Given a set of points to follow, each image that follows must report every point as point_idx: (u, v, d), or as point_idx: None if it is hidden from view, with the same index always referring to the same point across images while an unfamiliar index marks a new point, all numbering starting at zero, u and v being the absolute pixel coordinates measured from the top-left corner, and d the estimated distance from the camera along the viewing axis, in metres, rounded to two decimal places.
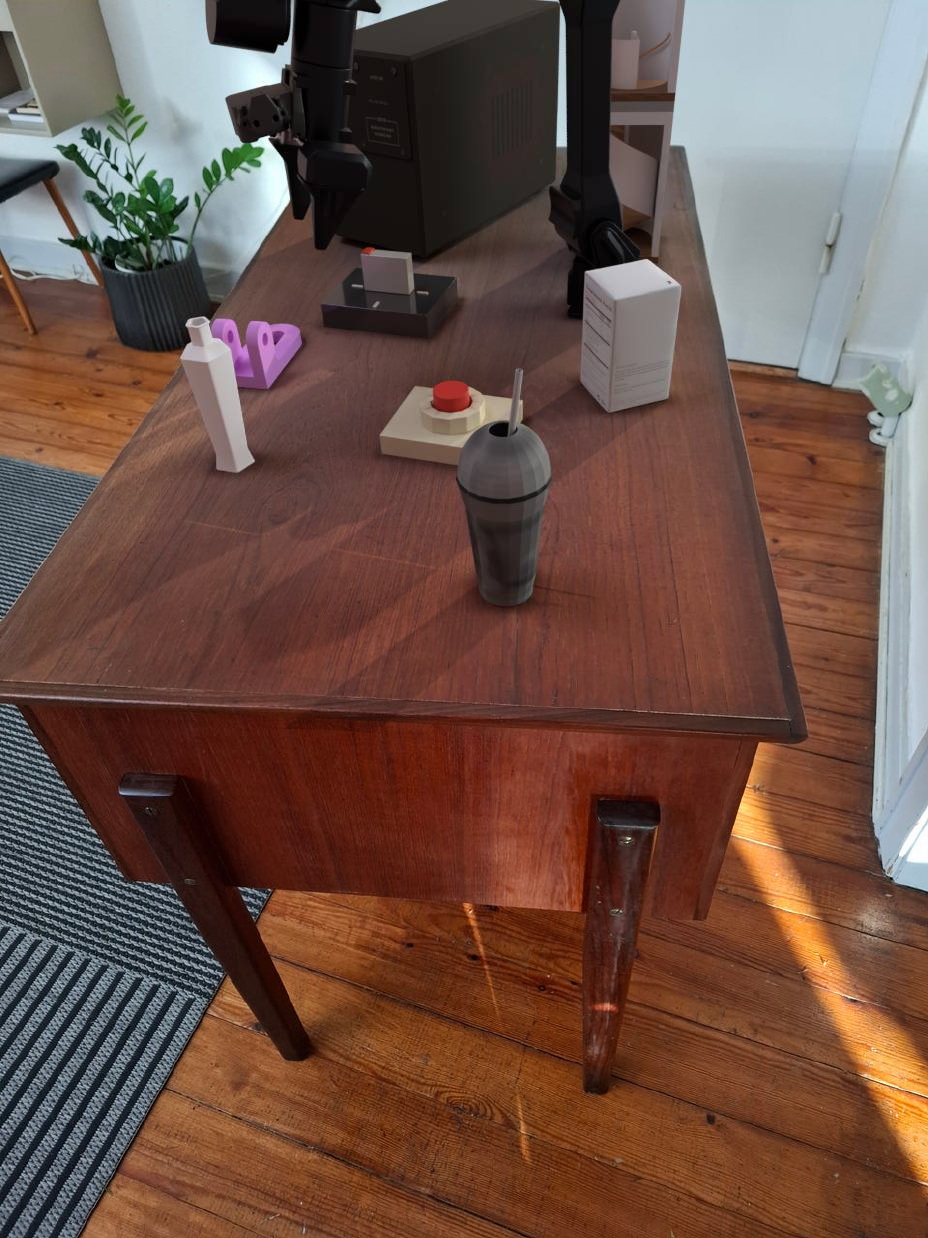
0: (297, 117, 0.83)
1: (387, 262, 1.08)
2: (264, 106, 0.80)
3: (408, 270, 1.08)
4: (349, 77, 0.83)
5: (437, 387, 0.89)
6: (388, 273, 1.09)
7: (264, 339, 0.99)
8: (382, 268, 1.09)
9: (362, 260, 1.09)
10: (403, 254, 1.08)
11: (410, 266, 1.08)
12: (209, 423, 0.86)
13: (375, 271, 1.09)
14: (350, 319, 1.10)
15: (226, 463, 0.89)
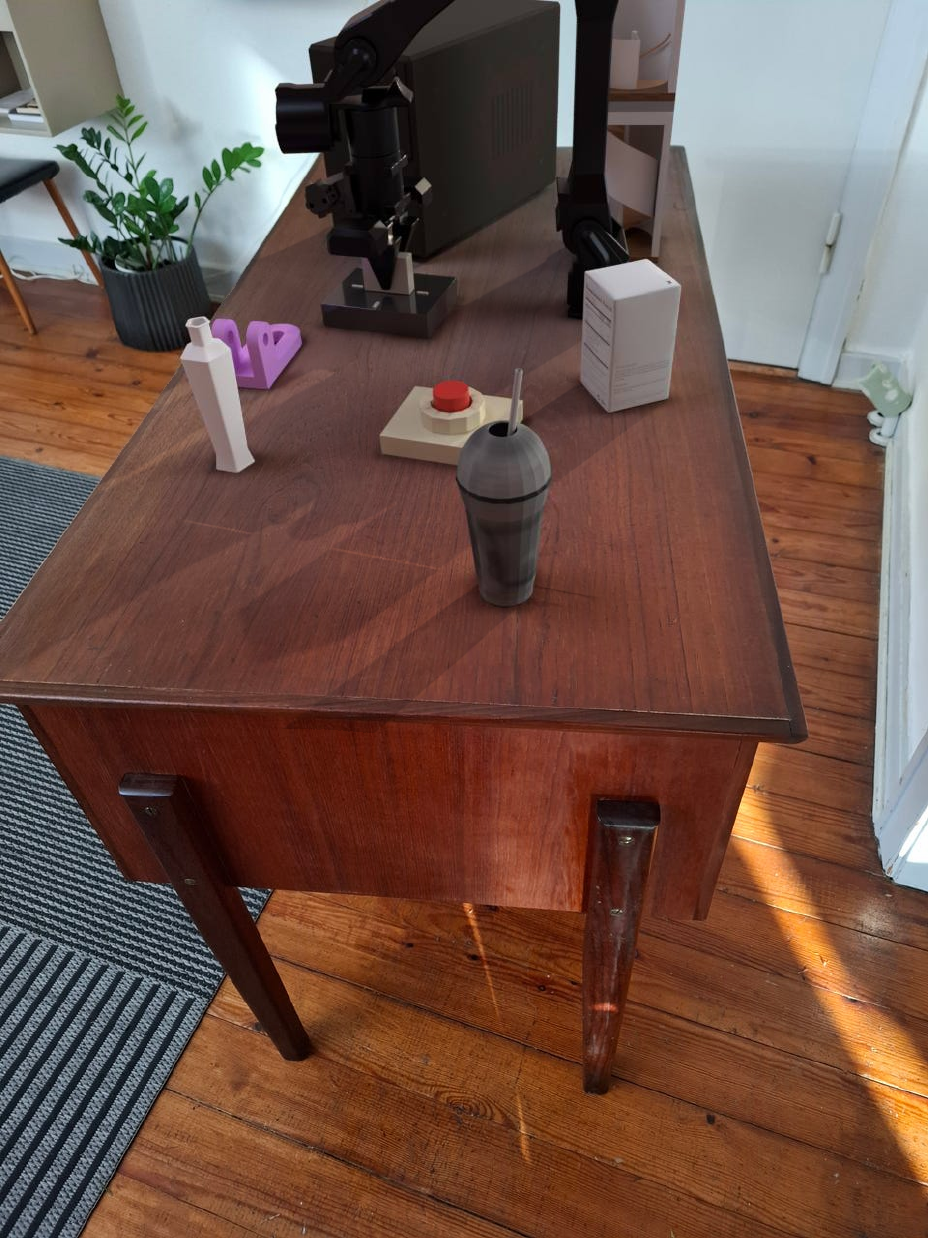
0: (347, 198, 1.02)
1: None
2: (314, 192, 1.01)
3: (408, 270, 1.08)
4: (388, 162, 0.99)
5: (437, 387, 0.89)
6: None
7: (264, 339, 0.99)
8: None
9: (362, 260, 1.09)
10: (403, 254, 1.08)
11: (410, 266, 1.08)
12: (209, 423, 0.86)
13: None
14: (350, 319, 1.10)
15: (226, 463, 0.89)
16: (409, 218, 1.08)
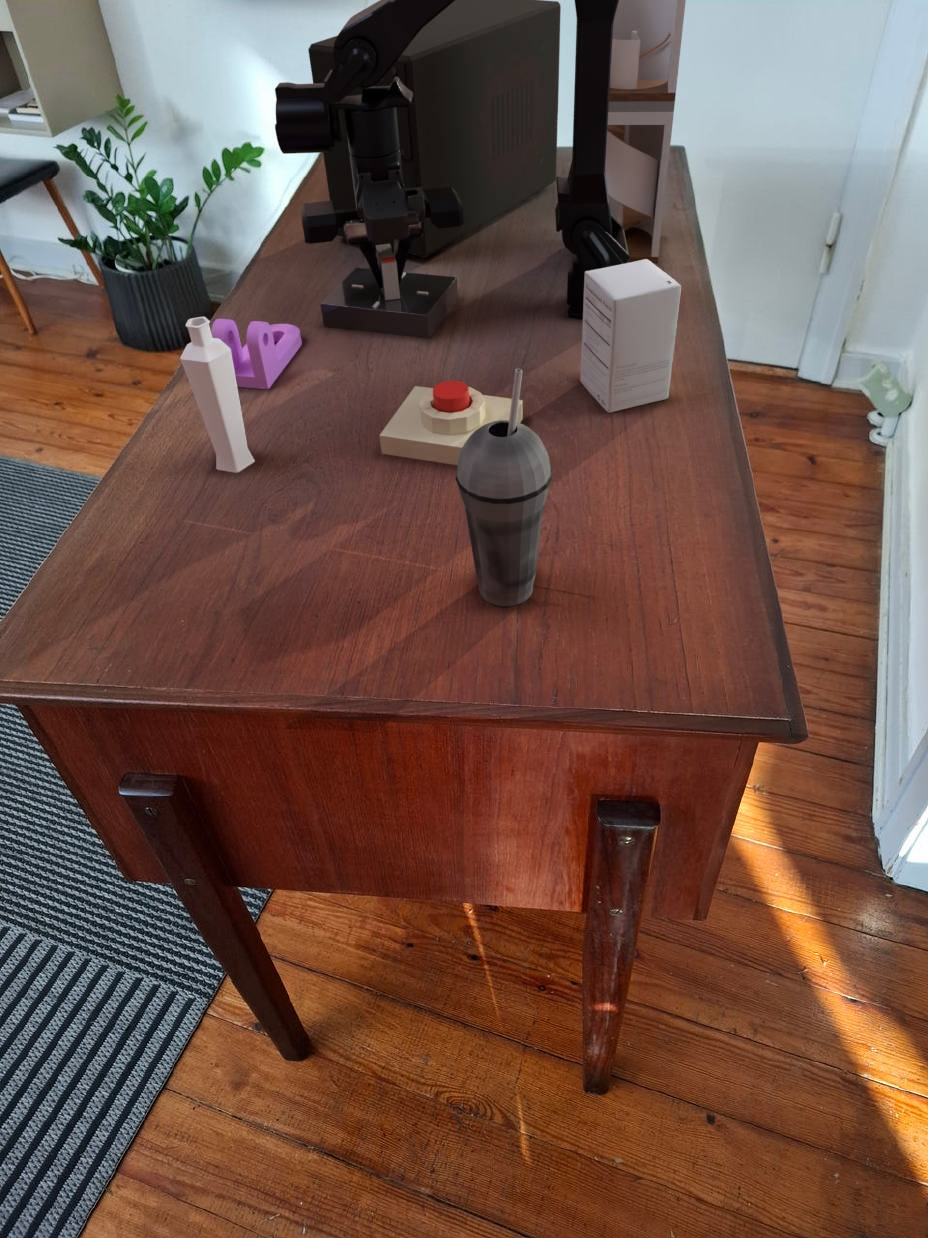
0: None
1: None
2: None
3: None
4: None
5: (437, 387, 0.89)
6: None
7: (265, 339, 0.99)
8: None
9: (396, 267, 1.07)
10: (382, 246, 1.10)
11: None
12: (209, 423, 0.86)
13: None
14: (350, 319, 1.10)
15: (226, 463, 0.89)
16: None
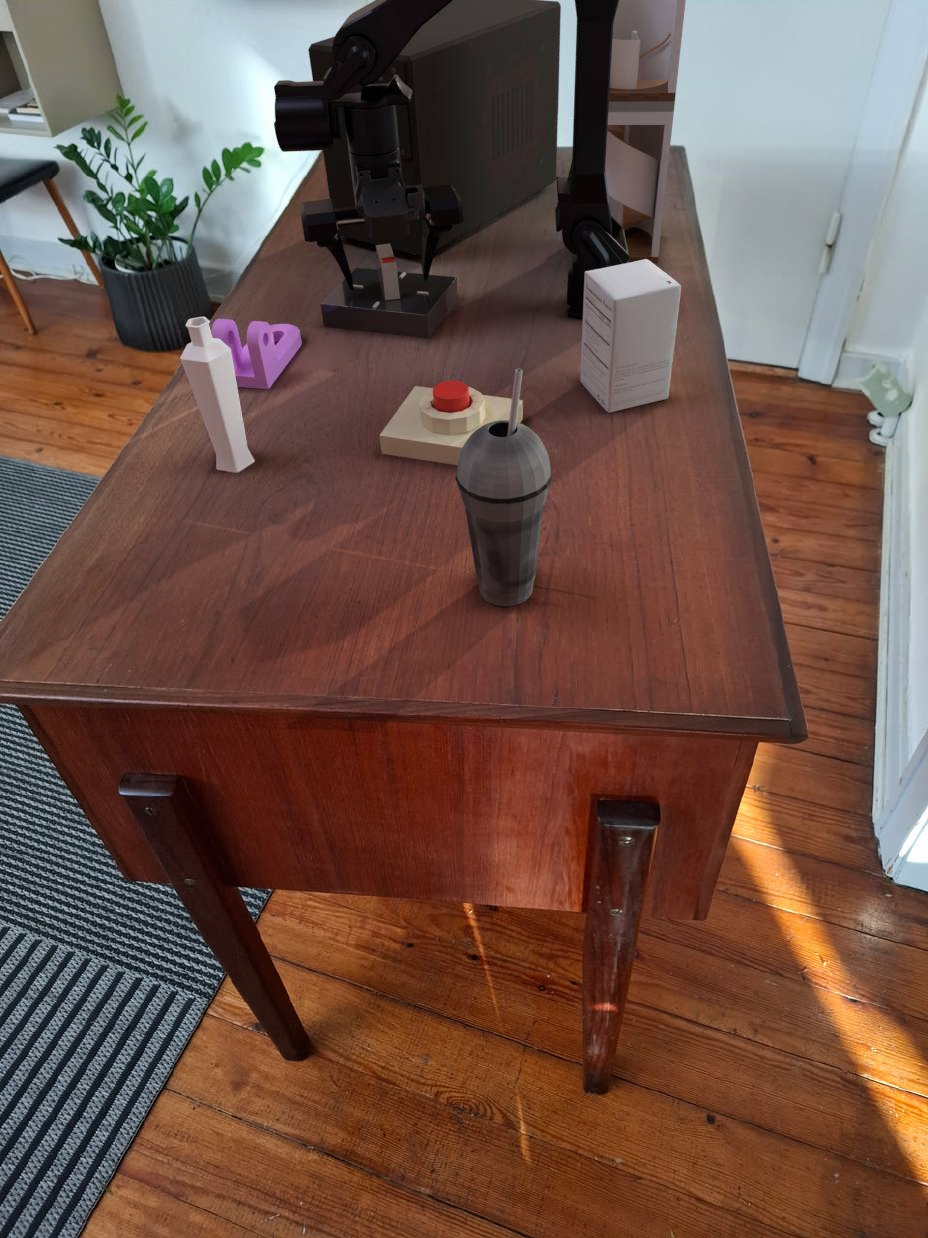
0: None
1: None
2: None
3: None
4: None
5: (437, 387, 0.89)
6: None
7: (265, 339, 0.99)
8: None
9: (396, 267, 1.07)
10: (382, 246, 1.10)
11: None
12: (209, 423, 0.86)
13: None
14: (350, 319, 1.10)
15: (226, 463, 0.89)
16: None
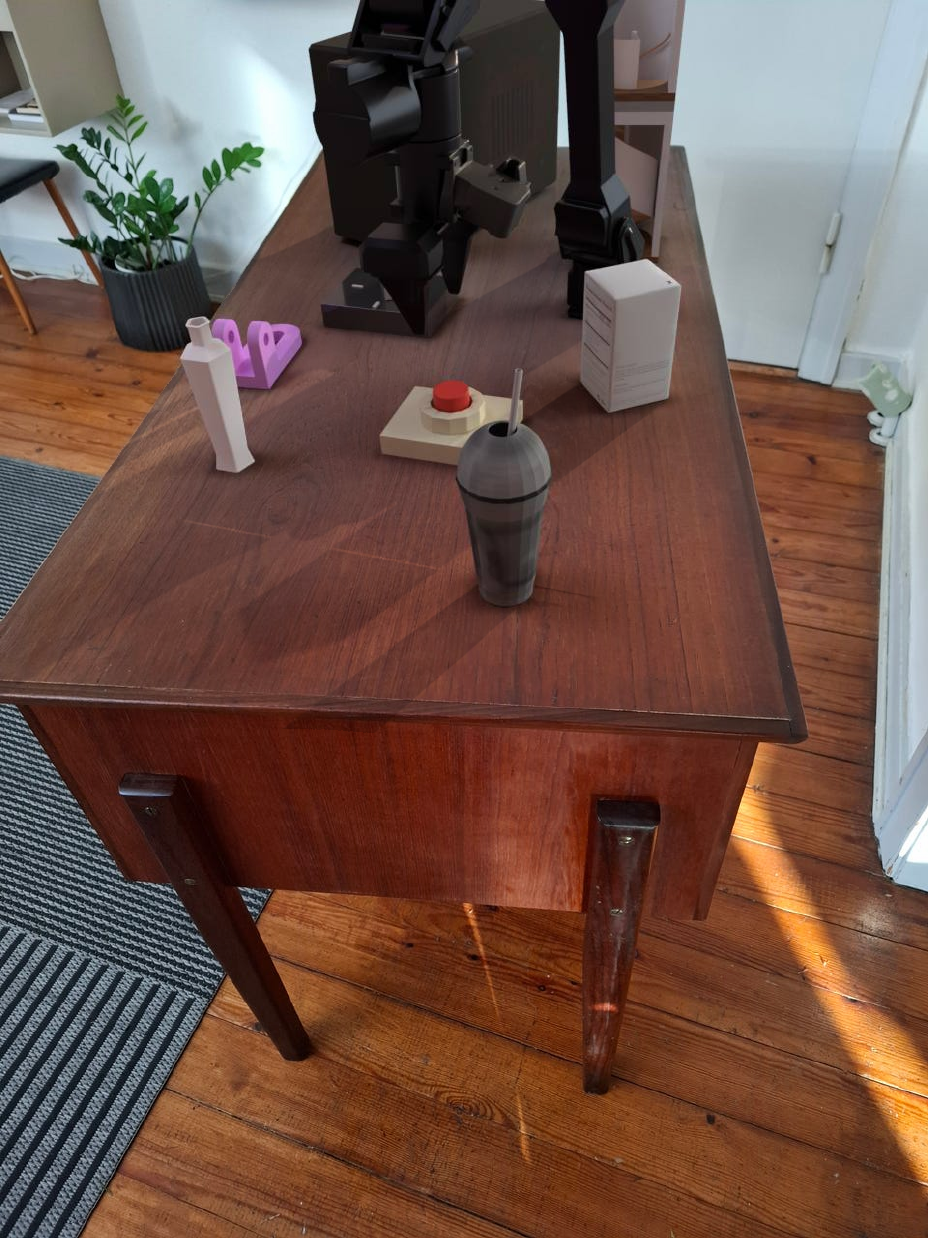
0: None
1: None
2: None
3: None
4: None
5: (437, 387, 0.89)
6: None
7: (265, 339, 0.99)
8: None
9: None
10: None
11: None
12: (209, 423, 0.86)
13: None
14: (350, 319, 1.10)
15: (226, 463, 0.89)
16: None
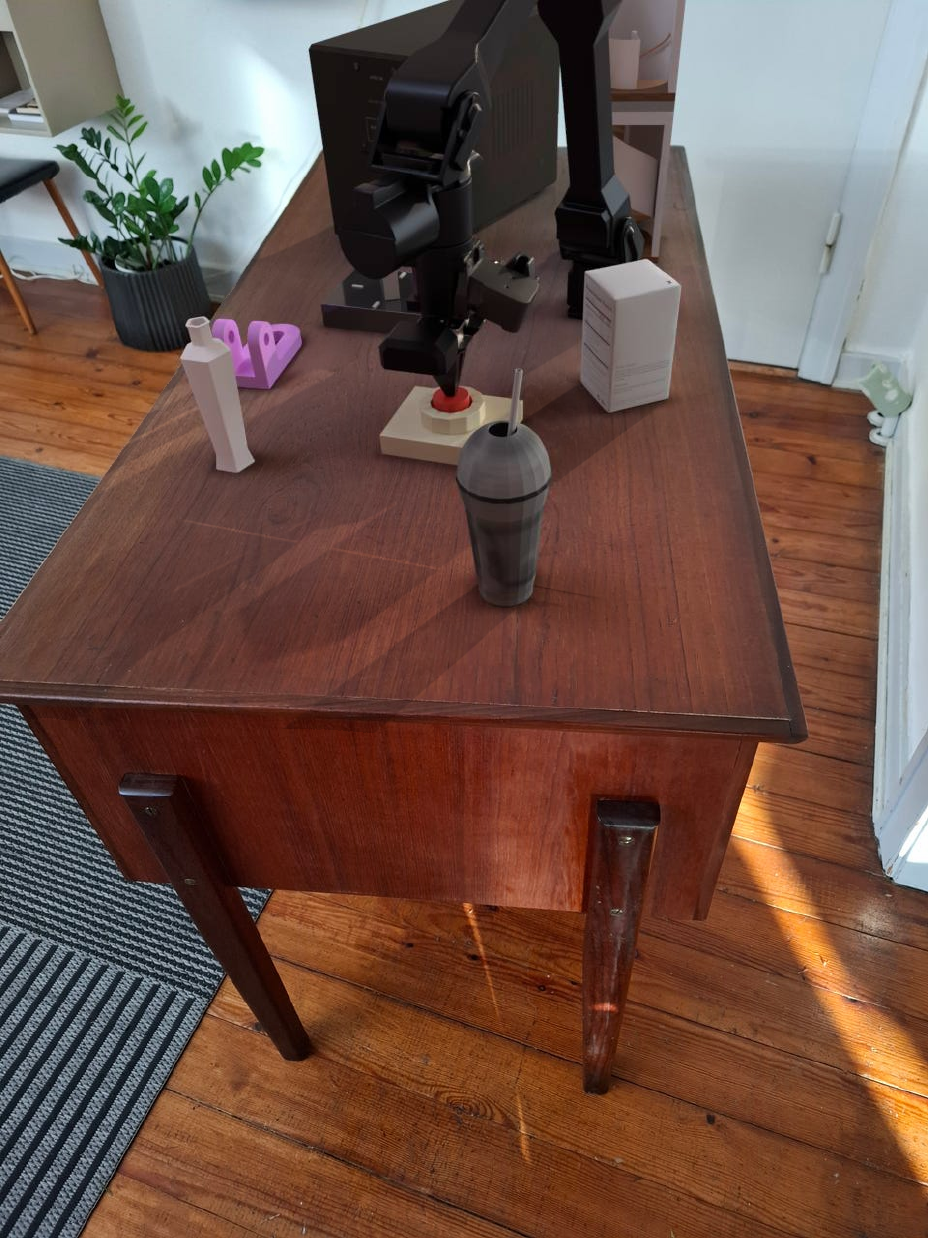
0: None
1: None
2: None
3: None
4: None
5: (438, 392, 0.89)
6: None
7: (265, 339, 0.99)
8: None
9: None
10: None
11: None
12: (209, 423, 0.86)
13: None
14: (350, 319, 1.10)
15: (226, 463, 0.89)
16: None
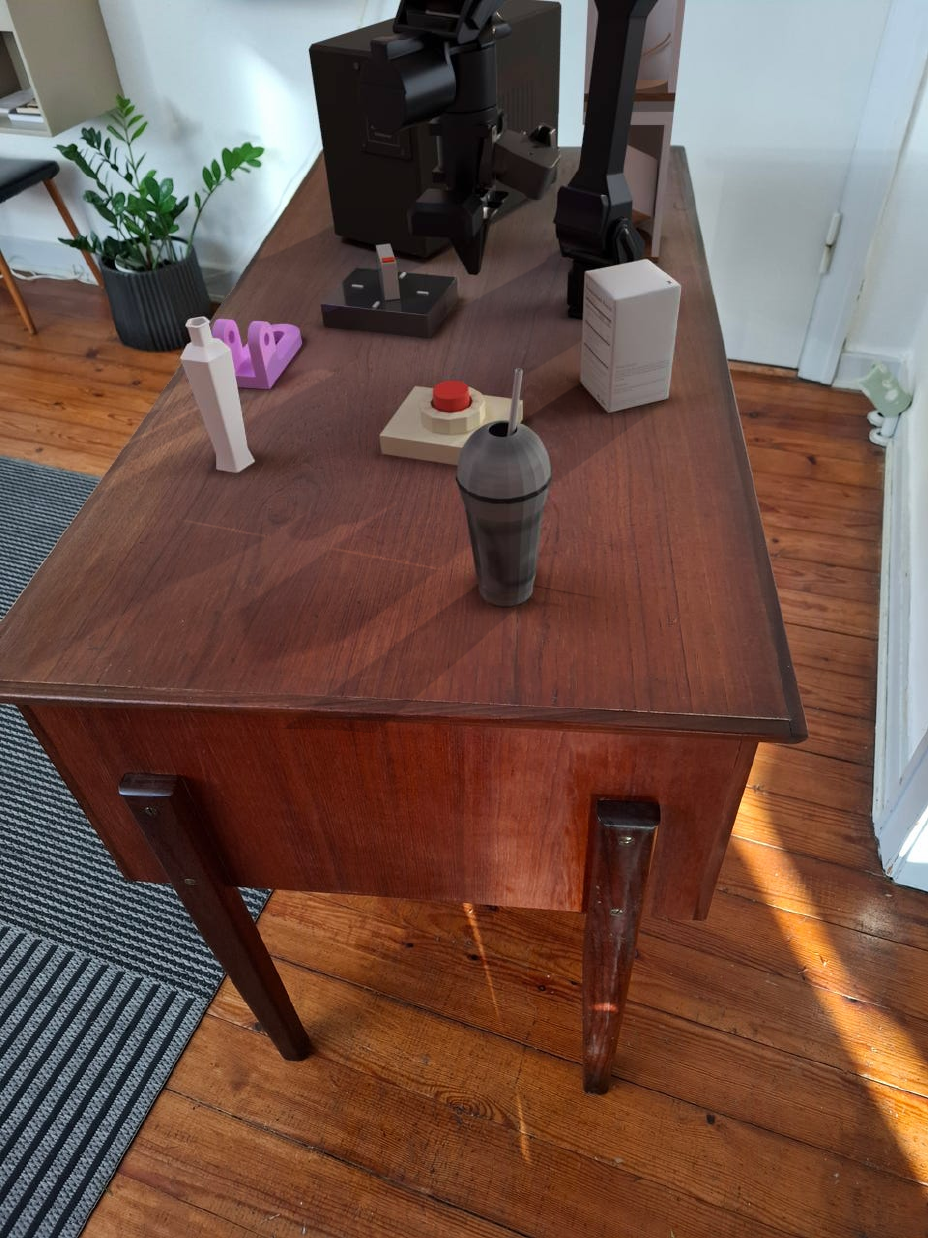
0: None
1: None
2: None
3: None
4: None
5: (437, 387, 0.89)
6: None
7: (265, 339, 0.99)
8: None
9: (396, 267, 1.07)
10: (382, 246, 1.10)
11: None
12: (209, 423, 0.86)
13: None
14: (350, 319, 1.10)
15: (226, 463, 0.89)
16: None
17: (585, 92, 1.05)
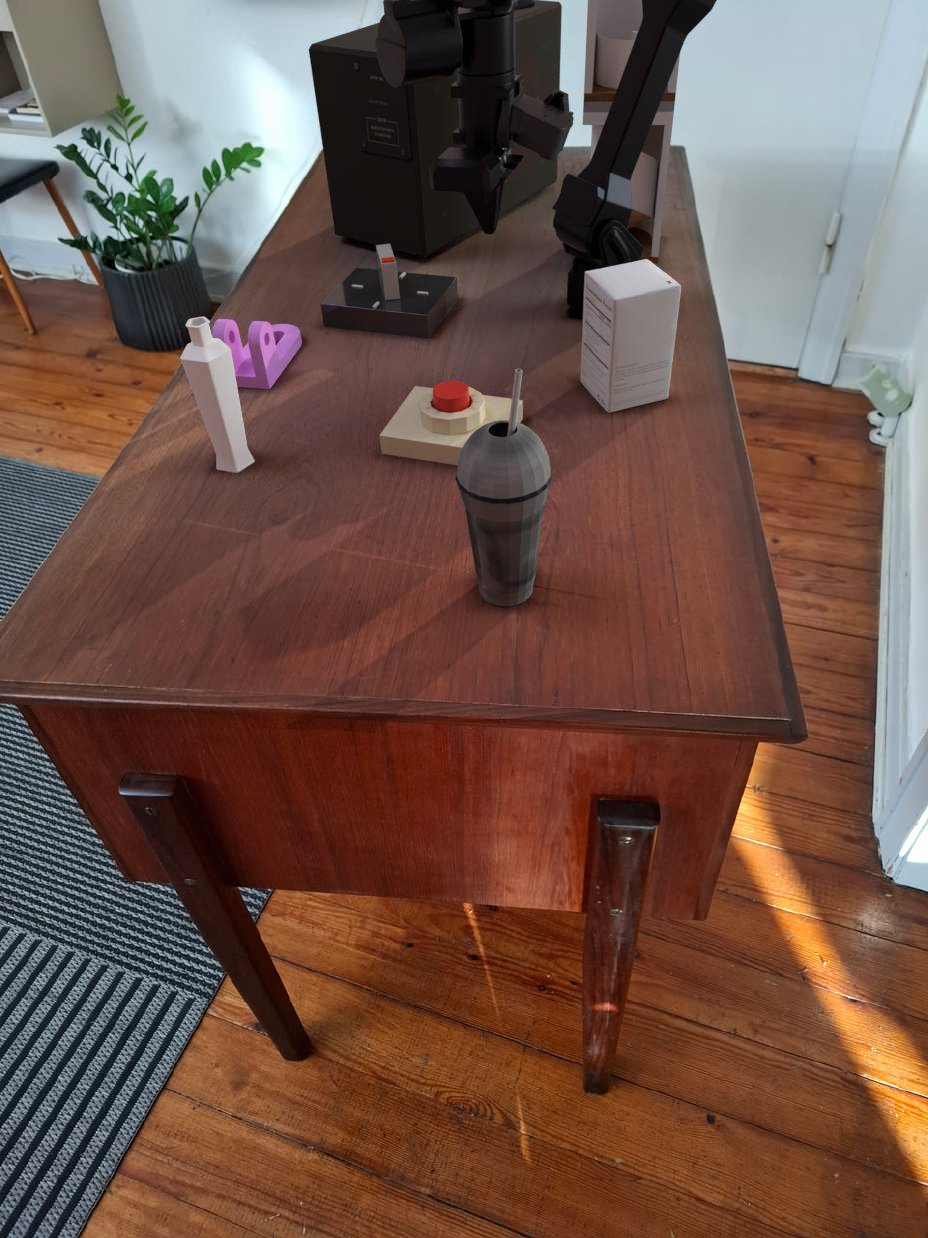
0: None
1: None
2: None
3: None
4: None
5: (437, 387, 0.89)
6: None
7: (266, 339, 0.99)
8: None
9: (396, 267, 1.07)
10: (382, 246, 1.10)
11: None
12: (209, 423, 0.86)
13: None
14: (350, 319, 1.10)
15: (226, 463, 0.89)
16: None
17: (585, 92, 1.05)
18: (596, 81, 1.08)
